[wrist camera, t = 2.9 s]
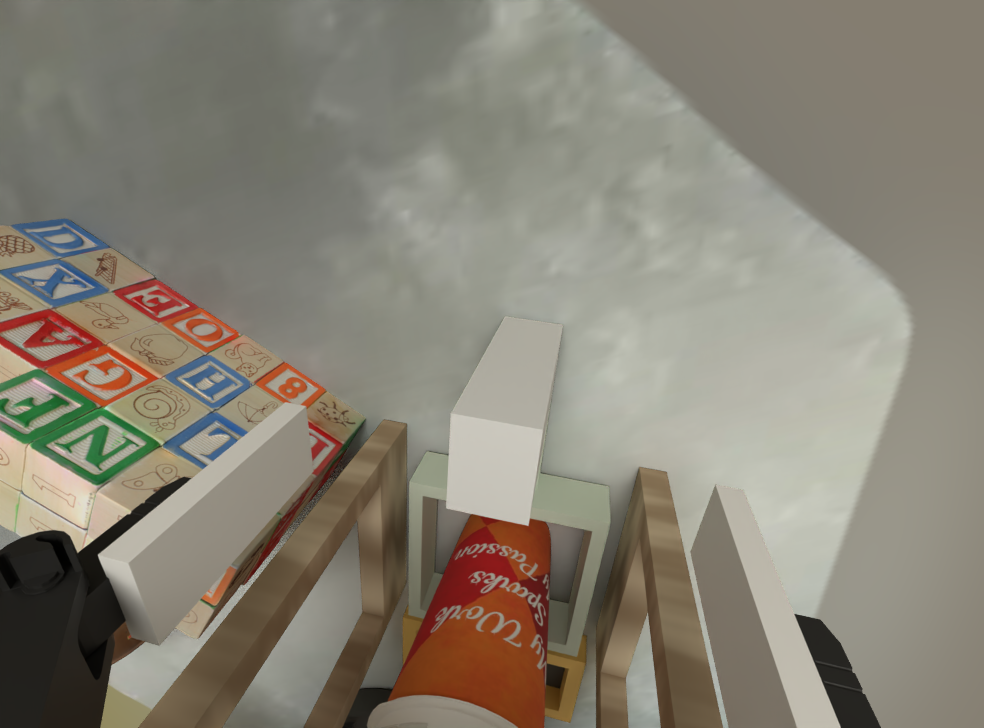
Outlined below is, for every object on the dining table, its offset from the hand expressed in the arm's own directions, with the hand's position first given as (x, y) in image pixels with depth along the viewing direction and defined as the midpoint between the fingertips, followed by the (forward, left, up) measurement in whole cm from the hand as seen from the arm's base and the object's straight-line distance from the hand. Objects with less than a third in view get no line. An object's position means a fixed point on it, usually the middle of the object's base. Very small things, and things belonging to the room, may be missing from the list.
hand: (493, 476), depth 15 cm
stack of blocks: (-4, +21, -12) cm, 24 cm away
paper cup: (-13, 0, -11) cm, 17 cm away
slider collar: (-9, 0, -11) cm, 14 cm away
